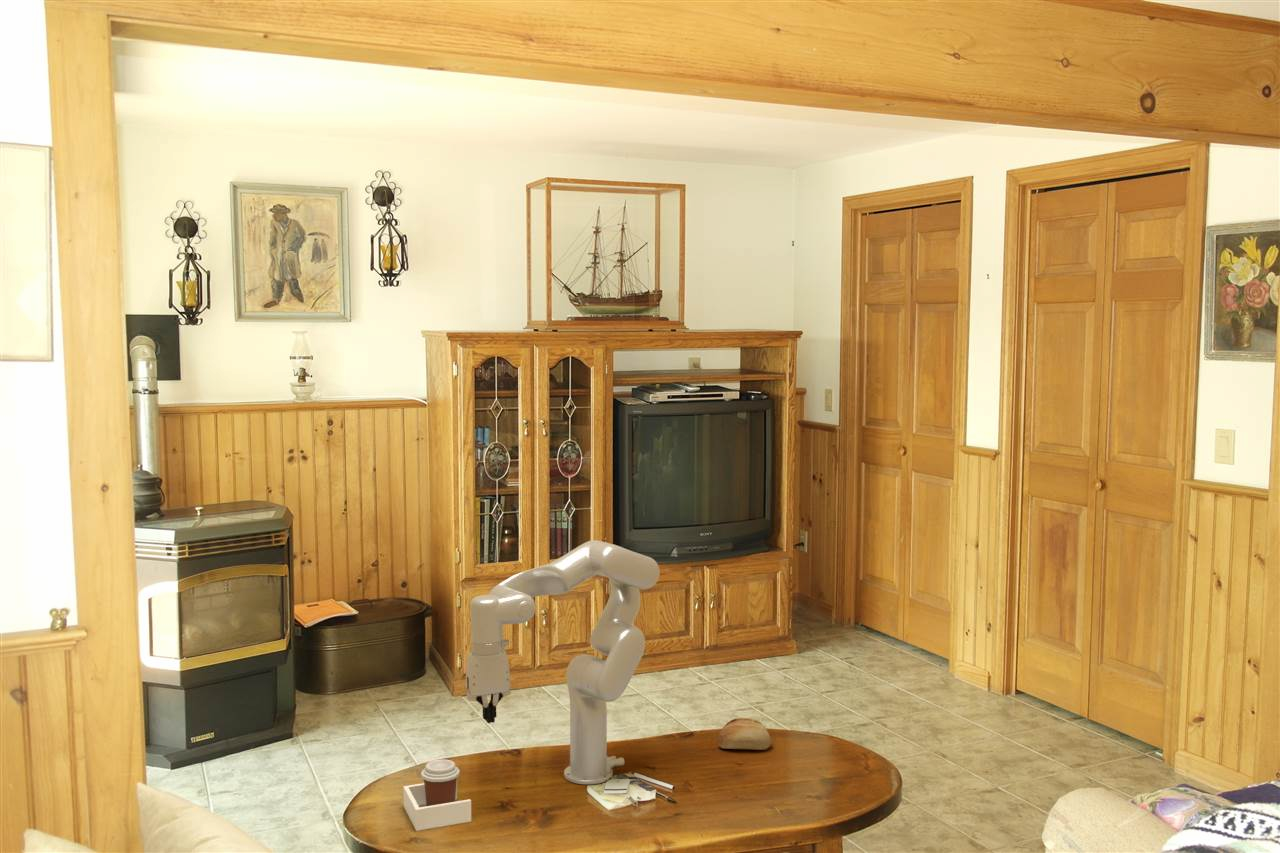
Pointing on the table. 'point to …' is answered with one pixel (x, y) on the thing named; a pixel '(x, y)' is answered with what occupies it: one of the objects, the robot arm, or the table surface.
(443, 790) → the coffee cup
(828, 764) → the table surface
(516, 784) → the table surface
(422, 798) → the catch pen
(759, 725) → the bread roll
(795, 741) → the table surface
